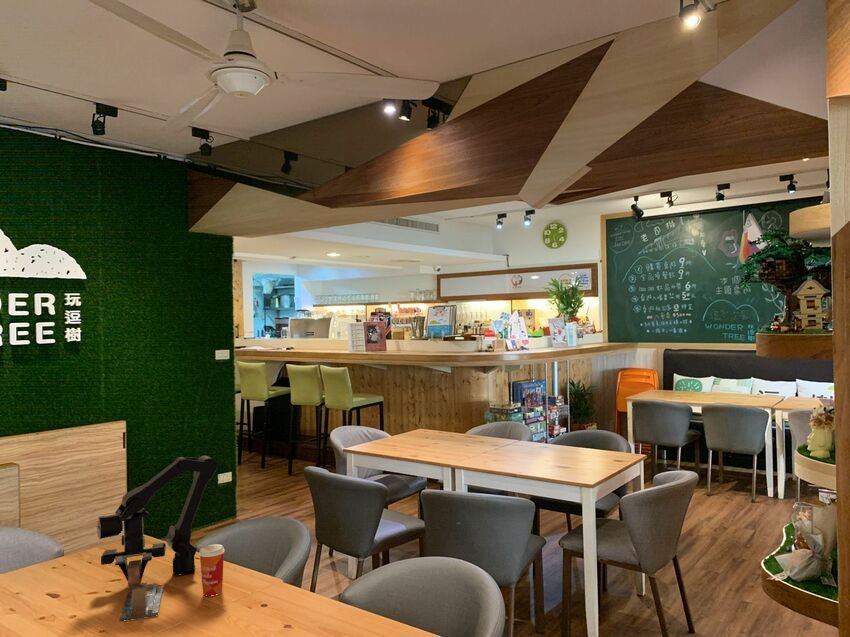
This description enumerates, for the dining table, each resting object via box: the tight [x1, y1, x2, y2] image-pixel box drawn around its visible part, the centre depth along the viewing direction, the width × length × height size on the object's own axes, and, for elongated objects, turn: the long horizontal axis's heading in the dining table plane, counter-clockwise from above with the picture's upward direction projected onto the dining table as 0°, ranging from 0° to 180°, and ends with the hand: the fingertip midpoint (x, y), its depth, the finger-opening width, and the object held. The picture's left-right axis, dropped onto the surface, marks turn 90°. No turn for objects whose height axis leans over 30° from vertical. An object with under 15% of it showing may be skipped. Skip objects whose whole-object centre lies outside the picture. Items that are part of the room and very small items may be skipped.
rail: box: [119, 582, 164, 622], centre depth 185 cm, size 10×20×8 cm, turn 19°
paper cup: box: [198, 543, 226, 596], centre depth 192 cm, size 8×8×14 cm
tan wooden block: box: [127, 559, 143, 589], centre depth 199 cm, size 4×6×7 cm, turn 19°
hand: (134, 579), depth 200 cm, fingers closed on tan wooden block, 3 cm apart
